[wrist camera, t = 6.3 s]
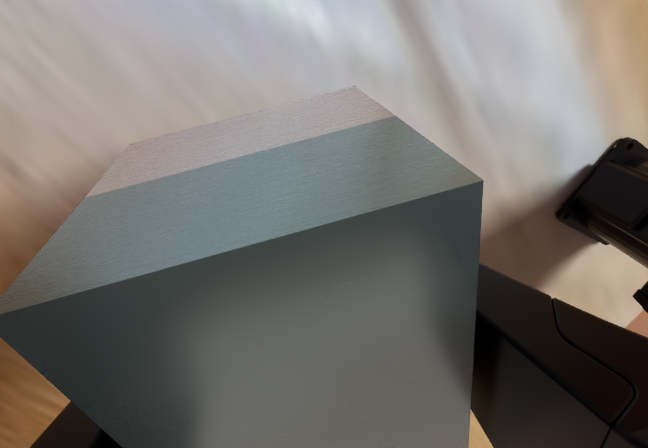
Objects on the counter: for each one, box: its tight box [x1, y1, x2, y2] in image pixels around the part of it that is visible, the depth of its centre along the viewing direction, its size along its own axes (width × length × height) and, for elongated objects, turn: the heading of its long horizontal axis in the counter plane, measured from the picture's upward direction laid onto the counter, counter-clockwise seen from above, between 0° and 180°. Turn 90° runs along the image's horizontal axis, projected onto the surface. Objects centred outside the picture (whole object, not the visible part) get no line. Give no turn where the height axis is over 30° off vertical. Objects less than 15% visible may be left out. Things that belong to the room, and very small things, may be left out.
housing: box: [0, 86, 483, 448], centre depth 7 cm, size 5×7×5 cm
